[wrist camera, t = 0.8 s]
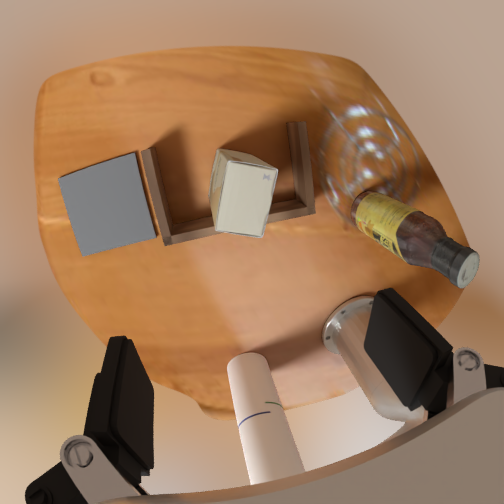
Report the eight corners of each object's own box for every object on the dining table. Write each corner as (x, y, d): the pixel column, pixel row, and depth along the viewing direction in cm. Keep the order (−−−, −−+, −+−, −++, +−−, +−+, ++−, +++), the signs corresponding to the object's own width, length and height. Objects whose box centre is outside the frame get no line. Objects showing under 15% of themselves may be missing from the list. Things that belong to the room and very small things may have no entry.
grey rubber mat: (135, 152, 30) (134, 152, 30) (156, 236, 35) (156, 237, 34) (59, 178, 29) (57, 178, 29) (83, 255, 34) (82, 256, 33)
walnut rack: (293, 122, 32) (305, 121, 29) (303, 205, 37) (315, 213, 33) (147, 149, 30) (140, 151, 27) (167, 234, 35) (164, 246, 31)
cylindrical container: (226, 354, 45) (256, 495, 22) (268, 350, 46) (316, 482, 24) (227, 381, 48) (254, 507, 25) (266, 377, 49) (306, 496, 27)
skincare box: (216, 147, 32) (227, 155, 21) (251, 153, 33) (280, 165, 22) (206, 199, 34) (213, 233, 23) (241, 204, 35) (263, 239, 24)
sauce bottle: (342, 223, 39) (437, 294, 21) (358, 182, 37) (467, 232, 19) (374, 235, 41) (465, 302, 23) (390, 198, 39) (491, 250, 21)
